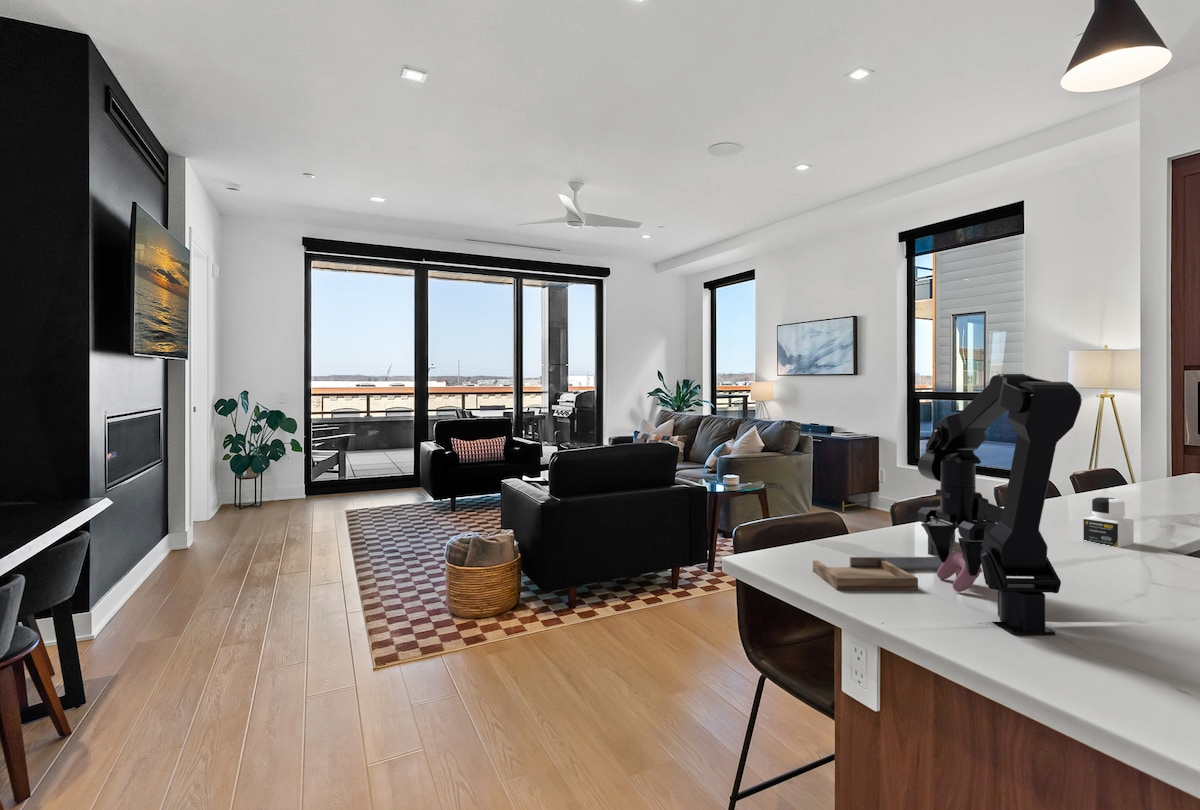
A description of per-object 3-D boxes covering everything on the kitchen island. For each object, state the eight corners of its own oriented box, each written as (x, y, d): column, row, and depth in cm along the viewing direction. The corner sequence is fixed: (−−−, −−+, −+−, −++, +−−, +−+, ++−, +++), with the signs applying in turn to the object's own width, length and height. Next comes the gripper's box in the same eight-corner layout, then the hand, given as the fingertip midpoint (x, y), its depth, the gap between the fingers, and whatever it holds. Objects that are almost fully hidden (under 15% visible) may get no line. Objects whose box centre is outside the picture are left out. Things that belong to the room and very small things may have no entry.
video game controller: (980, 597, 111) (988, 560, 111) (953, 591, 112) (960, 554, 112) (959, 582, 121) (966, 547, 120) (934, 577, 121) (941, 542, 121)
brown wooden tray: (917, 590, 114) (917, 578, 114) (837, 590, 114) (837, 578, 114) (885, 571, 127) (885, 560, 127) (813, 571, 127) (812, 560, 127)
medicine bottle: (1082, 546, 149) (1082, 497, 149) (1099, 543, 152) (1099, 495, 152) (1117, 552, 142) (1117, 501, 142) (1134, 549, 145) (1134, 499, 145)
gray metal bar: (974, 569, 127) (974, 557, 127) (851, 569, 127) (851, 557, 127) (967, 566, 129) (967, 555, 129) (846, 566, 129) (846, 555, 129)
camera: (946, 561, 135) (946, 516, 135) (926, 559, 137) (926, 514, 137) (956, 547, 148) (956, 506, 148) (937, 545, 150) (937, 504, 150)
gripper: (1035, 493, 106) (1035, 582, 106) (970, 479, 125) (971, 555, 125) (971, 493, 106) (971, 583, 106) (916, 479, 125) (916, 556, 125)
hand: (958, 568), depth 116 cm, fingers closed on video game controller, 9 cm apart
